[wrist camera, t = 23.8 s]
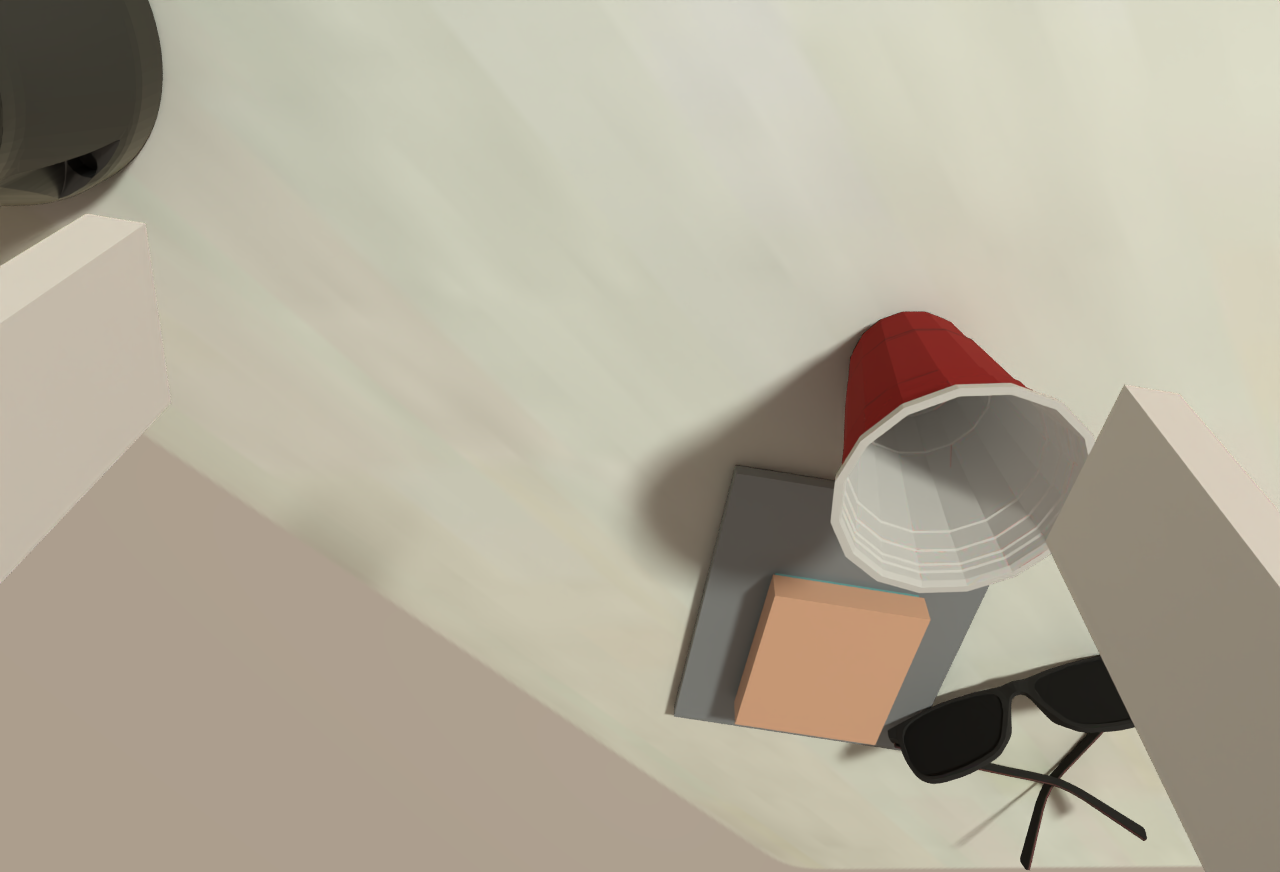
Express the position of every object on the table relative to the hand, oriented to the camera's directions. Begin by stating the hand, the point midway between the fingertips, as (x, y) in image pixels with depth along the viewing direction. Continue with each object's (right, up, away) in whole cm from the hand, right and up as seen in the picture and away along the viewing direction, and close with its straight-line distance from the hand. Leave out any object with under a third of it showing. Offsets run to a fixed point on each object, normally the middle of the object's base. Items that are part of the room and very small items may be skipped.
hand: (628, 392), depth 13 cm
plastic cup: (+14, +3, +35) cm, 38 cm away
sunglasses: (+26, -21, +49) cm, 60 cm away
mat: (+12, -12, +44) cm, 47 cm away
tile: (+12, -10, +41) cm, 44 cm away
